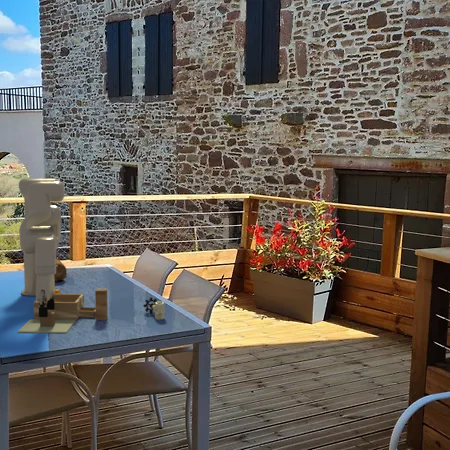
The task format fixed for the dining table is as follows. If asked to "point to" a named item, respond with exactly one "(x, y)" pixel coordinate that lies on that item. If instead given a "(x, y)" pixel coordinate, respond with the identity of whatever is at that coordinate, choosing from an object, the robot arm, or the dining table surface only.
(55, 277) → the petrified wood
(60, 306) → the toolbox
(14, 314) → the dining table surface
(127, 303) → the dining table surface
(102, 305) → the brown rectangular block
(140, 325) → the dining table surface
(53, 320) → the lid
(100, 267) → the dining table surface
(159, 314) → the valve
